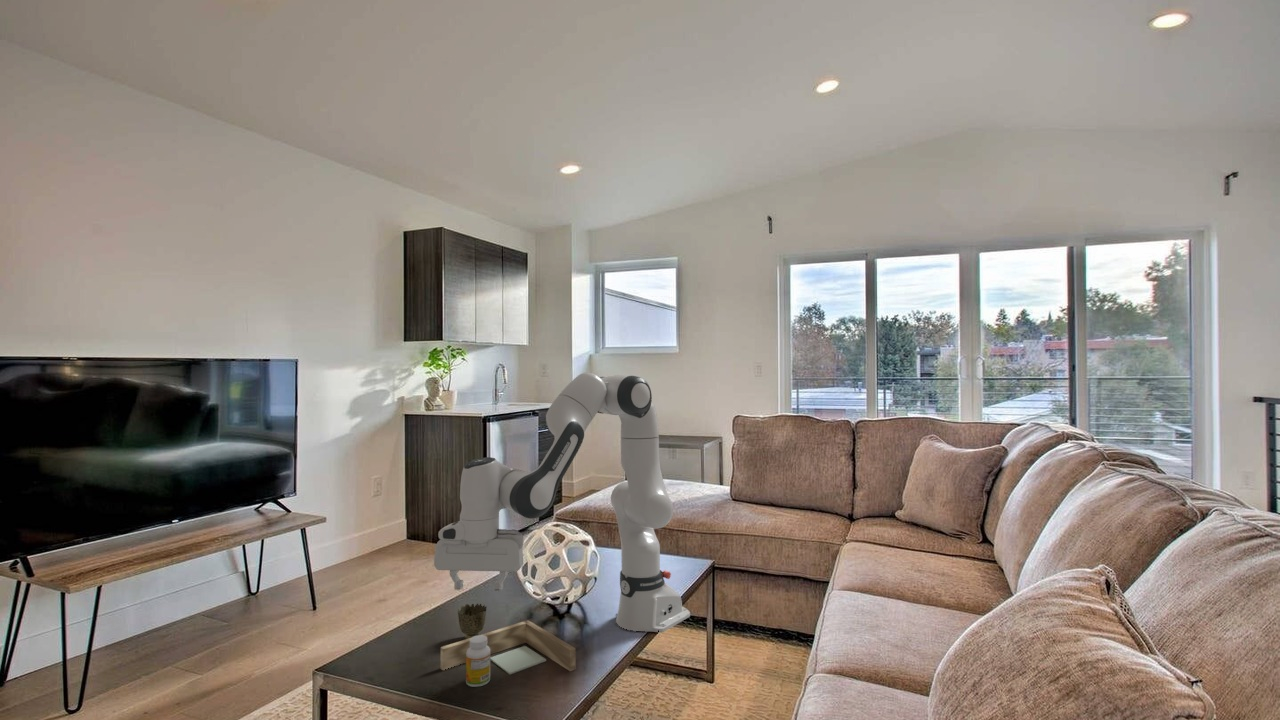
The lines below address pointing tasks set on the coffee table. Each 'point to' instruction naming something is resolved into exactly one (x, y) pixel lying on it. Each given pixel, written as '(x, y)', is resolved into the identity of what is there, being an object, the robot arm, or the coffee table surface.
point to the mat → (517, 659)
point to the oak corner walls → (511, 638)
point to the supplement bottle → (478, 662)
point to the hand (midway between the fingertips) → (478, 589)
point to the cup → (472, 619)
